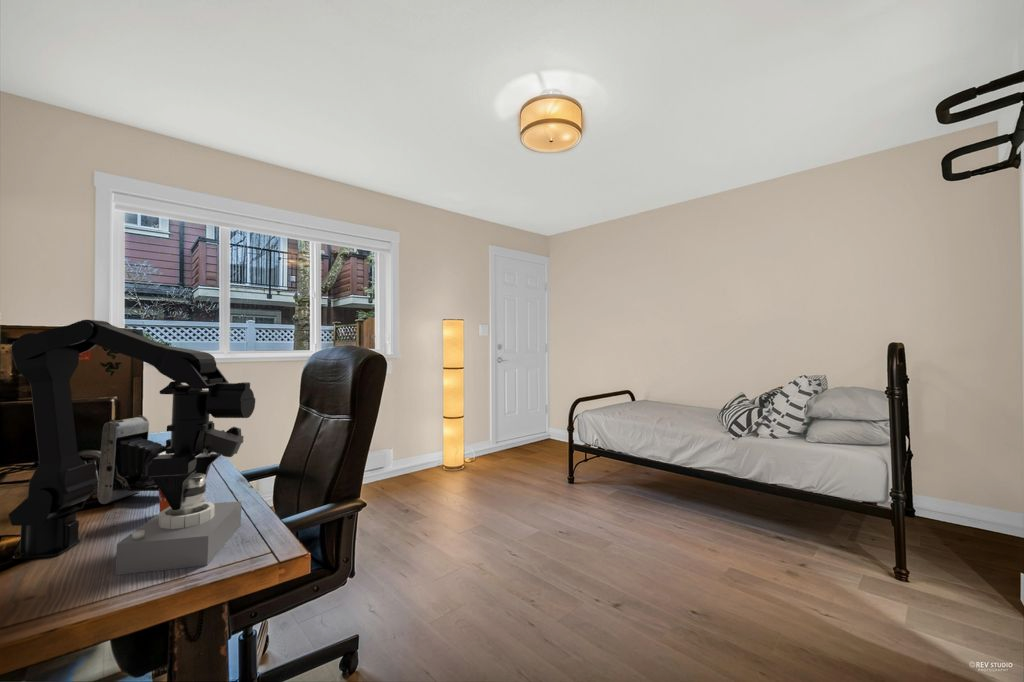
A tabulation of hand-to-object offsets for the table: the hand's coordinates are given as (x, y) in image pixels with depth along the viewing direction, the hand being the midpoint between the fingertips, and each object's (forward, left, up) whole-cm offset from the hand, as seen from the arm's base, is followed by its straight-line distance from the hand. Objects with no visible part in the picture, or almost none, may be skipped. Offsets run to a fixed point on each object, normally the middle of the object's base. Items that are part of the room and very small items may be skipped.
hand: (187, 501), depth 82 cm
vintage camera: (-21, +33, -9) cm, 40 cm away
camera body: (0, 0, -8) cm, 8 cm away
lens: (0, 0, -4) cm, 4 cm away
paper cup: (-9, +19, -9) cm, 23 cm away
